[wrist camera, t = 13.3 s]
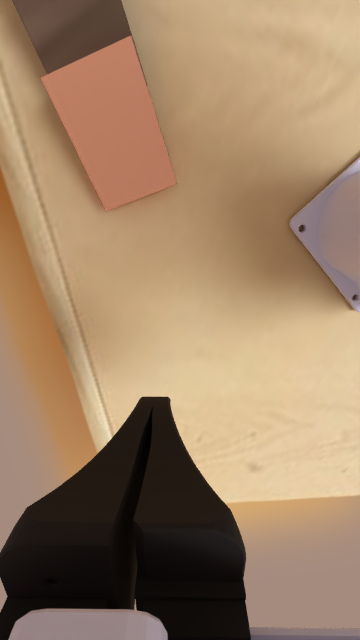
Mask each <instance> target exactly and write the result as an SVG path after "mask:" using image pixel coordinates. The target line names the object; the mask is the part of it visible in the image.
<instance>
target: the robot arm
mask: <svg viewBox="0 0 360 640" xmlns="http://www.w3.org/2000/svg"><path fill="white" fill-rule="evenodd" d="M301 225H303V226H304V230H303V231H302V232H300V231H299V227H300V226H301ZM289 226H290V228H291V229H292V231H293V232H294V233H295V234H296V236H297V237H298V238H299V240H300V241H301V242H302V243H303V245H304V246H305V247H306V248H307V250H308V251H309V252H310V254H311V255H312V256H313V257H314V259H315V260H316V261H317V263H318V264H319V265H320V266H321V268H322V269H323V270H324V271H325V273H326V274H327V275H328V277H329V278H330V279H331V280H332V282H333V283H334V284H335V286H336V287H337V288H338V289H339V291H340V292H341V293H342V294H343V296H344V297H345V298H346V300H347V301H348V302H349V303H350V305H351V306H352V307H353V309H354V310H356V311H357V312H360V157H359V158H358V159H357V160H356V161H354V162H353V163H352V164H351V165H350V166H349V167H348V168H347V169H346V170H344V171H343V172H342V173H341V174H340V175H339V176H338V177H337V178H336V179H334V180H333V181H332V182H331V183H330V184H329V185H328V186H327V187H326V188H325V189H323V190H322V191H321V192H320V193H319V194H318V195H317V196H316V197H315V198H313V199H312V200H311V201H310V202H309V203H308V204H307V205H306V206H305V207H303V208H302V209H301V210H300V211H299V212H298V213H297V214H296V215H295V216H293V217H292V219H291V220H290V222H289ZM355 294H356V297H355V299H352V297H353V296H354V295H355ZM245 562H246V552H245V547H244V543H243V540H242V537H241V534H240V531H239V529H238V526H237V523H236V521H235V519H234V516H233V514H232V512H231V510H230V509H229V508H228V506H227V505H226V504H225V503H224V502H223V501H222V500H221V499H220V498H219V496H218V495H217V494H216V493H215V492H214V490H213V489H212V488H211V487H210V485H209V484H208V483H207V481H206V480H205V478H204V477H203V476H202V474H201V473H200V471H199V470H198V468H197V467H196V465H195V464H194V462H193V460H192V459H191V457H190V455H189V453H188V451H187V450H186V448H185V446H184V444H183V441H182V439H181V437H180V435H179V432H178V430H177V427H176V424H175V421H174V418H173V415H172V411H171V406H170V398H169V397H142V398H140V400H139V402H138V403H137V405H136V407H135V408H134V410H133V411H132V413H131V414H130V416H129V417H128V418H127V420H126V421H125V423H124V424H123V425H122V427H121V428H120V429H119V430H118V432H117V433H116V434H115V435H114V436H113V438H112V439H111V440H110V441H109V442H108V443H107V445H106V446H105V447H104V448H103V449H102V450H101V451H100V452H99V453H98V454H97V455H96V456H95V457H94V458H93V459H92V460H91V461H90V462H89V463H87V465H85V466H84V467H83V468H82V469H81V470H80V471H79V472H78V473H76V474H75V475H73V476H72V477H71V478H70V479H68V480H67V481H66V482H64V483H63V484H62V485H61V486H59V487H58V488H56V489H55V490H53V491H52V492H51V493H49V494H47V495H46V496H44V497H43V498H41V499H40V500H38V501H37V502H35V503H34V504H32V505H30V506H29V507H27V508H26V510H25V511H24V513H23V514H22V516H21V517H20V519H19V520H18V522H17V523H16V525H15V527H14V528H13V530H12V532H11V534H10V536H9V538H8V539H7V541H6V543H5V545H4V547H3V549H2V550H1V552H0V578H1V581H2V583H3V586H4V588H5V591H6V593H7V596H8V597H7V600H6V602H5V604H4V606H3V608H2V610H1V612H0V640H360V629H358V628H274V627H271V628H270V627H249V622H248V616H247V610H246V604H245V600H246V593H245V587H244V581H243V577H244V570H245ZM135 599H136V608H137V611H135V610H134V604H135Z"/></svg>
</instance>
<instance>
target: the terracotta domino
mask: <svg viewBox="0 0 360 640" xmlns="http://www.w3.org/2000/svg"><path fill="white" fill-rule="evenodd" d="M41 80H42V82H43V84H44V86H45V88H46V90H47V92H48V94H49V96H50V98H51V100H52V102H53V104H54V106H55V108H56V111H57V113H58V115H59V117H60V119H61V121H62V123H63V125H64V127H65V129H66V131H67V133H68V135H69V137H70V139H71V141H72V143H73V145H74V147H75V149H76V151H77V153H78V155H79V157H80V159H81V161H82V163H83V165H84V167H85V170H86V172H87V174H88V176H89V178H90V180H91V182H92V184H93V186H94V188H95V190H96V192H97V194H98V196H99V198H100V200H101V202H102V204H103V206H104V208H105V210H106V211H108V210H111V209H113V208H116V207H119V206H121V205H124V204H126V203H129V202H131V201H134V200H137V199H139V198H142V197H144V196H147V195H150V194H152V193H155V192H157V191H160V190H163V189H165V188H168V187H170V186H173V185H175V184H177V182H176V179H175V175H174V172H173V169H172V166H171V163H170V159H169V156H168V153H167V150H166V146H165V143H164V140H163V137H162V134H161V130H160V127H159V124H158V121H157V117H156V114H155V111H154V108H153V105H152V101H151V98H150V95H149V92H148V88H147V85H146V82H145V79H144V76H143V72H142V69H141V66H140V63H139V59H138V56H137V53H136V50H135V47H134V43H133V40H132V37H131V36H129V37H126V38H124V39H122V40H120V41H118V42H116V43H114V44H112V45H109V46H107V47H105V48H103V49H101V50H99V51H97V52H94V53H92V54H90V55H88V56H86V57H84V58H82V59H79V60H77V61H75V62H73V63H71V64H69V65H67V66H65V67H62V68H60V69H58V70H56V71H54V72H52V73H50V74H47V75H45V76H43V77H41Z"/></svg>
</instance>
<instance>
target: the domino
mask: <svg viewBox="0 0 360 640" xmlns="http://www.w3.org/2000/svg"><path fill="white" fill-rule="evenodd" d="M12 1H13V3H14V5H15V7H16V9H17V11H18V13H19V15H20V17H21V19H22V21H23V24H24V26H25V28H26V30H27V32H28V34H29V36H30V38H31V40H32V42H33V45H34V47H35V49H36V51H37V53H38V55H39V57H40V59H41V61H42V63H43V66H44V68H45V70H46V72H47V74H50V73H52V72H54V71H56V70H58V69H60V68H62V67H65V66H67V65H69V64H71V63H73V62H75V61H77V60H79V59H82V58H84V57H86V56H88V55H90V54H92V53H94V52H97V51H99V50H101V49H103V48H105V47H107V46H109V45H112V44H114V43H116V42H118V41H120V40H122V39H124V38H126V37H129V36H131V37H132V34H131V31H130V28H129V25H128V21H127V18H126V15H125V11H124V8H123V5H122V2H121V0H12ZM132 40H133V38H132ZM133 43H134V41H133ZM134 47H135V44H134ZM135 50H136V47H135ZM136 53H137V51H136ZM137 56H138V54H137ZM138 59H139V57H138ZM139 63H140V60H139ZM140 66H141V64H140ZM141 69H142V67H141ZM142 72H143V70H142ZM143 76H144V73H143ZM144 79H145V77H144ZM145 82H146V80H145ZM146 85H147V83H146Z"/></svg>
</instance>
